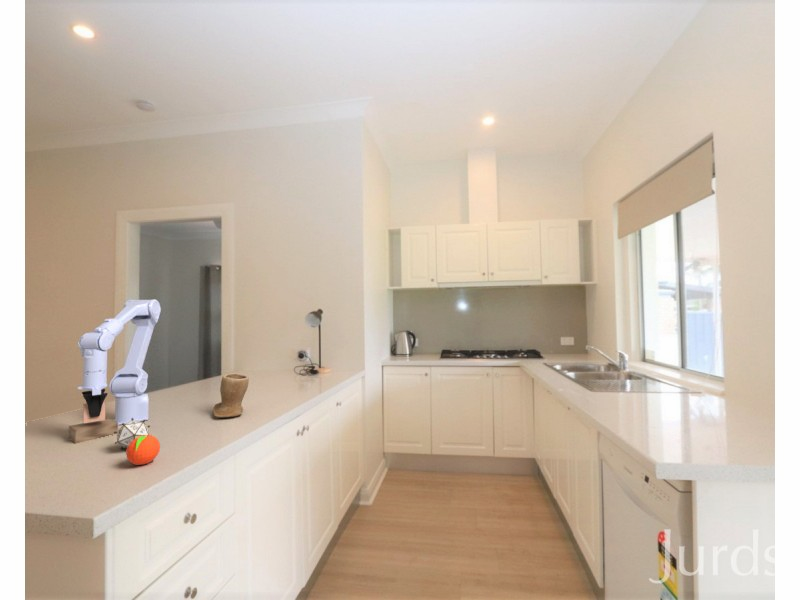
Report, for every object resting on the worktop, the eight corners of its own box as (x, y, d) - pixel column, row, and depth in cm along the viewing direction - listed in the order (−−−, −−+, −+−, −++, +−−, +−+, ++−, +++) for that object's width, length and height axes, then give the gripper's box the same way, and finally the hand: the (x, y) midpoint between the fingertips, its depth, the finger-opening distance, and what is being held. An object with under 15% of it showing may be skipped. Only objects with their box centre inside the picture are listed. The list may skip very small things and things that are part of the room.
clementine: (152, 469, 87) (153, 439, 87) (118, 473, 85) (119, 442, 85) (163, 456, 94) (164, 429, 95) (133, 460, 92) (133, 432, 93)
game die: (141, 460, 101) (165, 430, 103) (110, 460, 94) (137, 428, 95) (129, 439, 106) (152, 411, 107) (98, 438, 98) (124, 407, 100)
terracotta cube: (103, 416, 115) (103, 400, 115) (105, 419, 111) (105, 403, 112) (82, 420, 112) (83, 403, 112) (83, 423, 108) (84, 406, 108)
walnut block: (109, 430, 118) (109, 418, 118) (117, 435, 113) (117, 422, 113) (68, 439, 110) (69, 425, 110) (75, 444, 105) (75, 430, 105)
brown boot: (249, 417, 130) (249, 375, 131) (212, 421, 125) (212, 378, 126) (247, 407, 144) (247, 369, 145) (213, 411, 139) (214, 372, 140)
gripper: (76, 370, 114) (75, 413, 114) (79, 375, 104) (77, 422, 104) (105, 367, 119) (104, 408, 119) (110, 372, 109) (109, 417, 108)
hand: (94, 415), depth 112 cm, fingers closed on terracotta cube, 5 cm apart
